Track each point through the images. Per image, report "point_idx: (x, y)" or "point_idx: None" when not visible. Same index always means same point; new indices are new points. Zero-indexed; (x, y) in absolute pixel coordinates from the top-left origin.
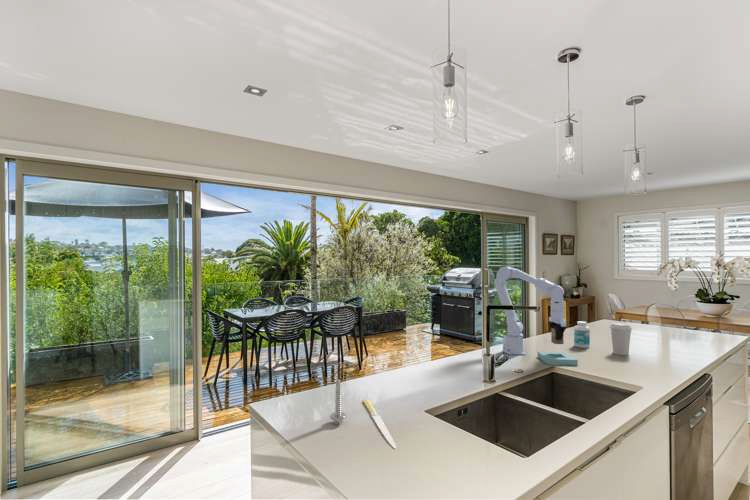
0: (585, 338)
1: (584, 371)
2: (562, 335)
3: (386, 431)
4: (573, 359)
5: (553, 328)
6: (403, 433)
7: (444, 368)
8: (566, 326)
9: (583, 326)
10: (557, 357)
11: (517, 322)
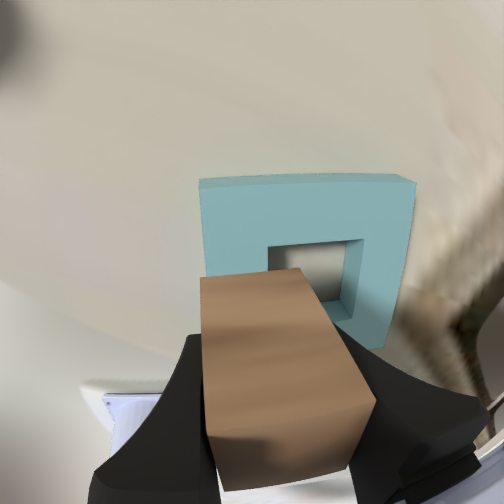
0: None
1: (472, 192)
2: (364, 350)
3: (491, 449)
4: (408, 208)
5: (284, 481)
6: (498, 441)
7: (348, 496)
8: (489, 413)
9: None
10: (359, 295)
11: None
